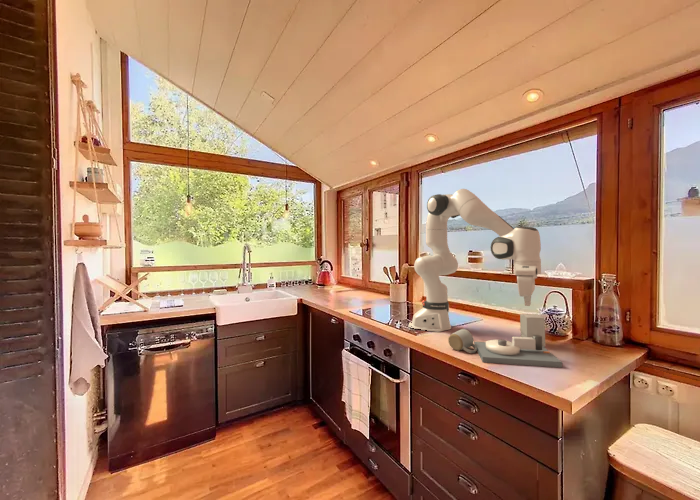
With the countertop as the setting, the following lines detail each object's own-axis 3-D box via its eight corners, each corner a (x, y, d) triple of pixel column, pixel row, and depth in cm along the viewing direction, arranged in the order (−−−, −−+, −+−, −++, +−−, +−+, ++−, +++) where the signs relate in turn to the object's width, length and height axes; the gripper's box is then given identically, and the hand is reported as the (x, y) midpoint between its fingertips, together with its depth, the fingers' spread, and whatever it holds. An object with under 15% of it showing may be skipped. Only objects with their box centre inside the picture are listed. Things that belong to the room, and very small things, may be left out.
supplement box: (545, 347, 122) (545, 317, 122) (526, 346, 123) (526, 317, 123) (538, 341, 129) (537, 313, 129) (520, 341, 131) (519, 313, 131)
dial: (489, 354, 110) (489, 338, 110) (482, 343, 122) (482, 329, 122) (549, 357, 106) (548, 341, 106) (535, 346, 117) (535, 331, 117)
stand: (482, 362, 108) (482, 356, 108) (474, 346, 126) (474, 340, 126) (562, 367, 102) (562, 361, 102) (541, 349, 119) (541, 344, 119)
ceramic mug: (446, 348, 123) (446, 330, 123) (458, 344, 128) (457, 327, 128) (469, 356, 115) (469, 337, 115) (480, 351, 120) (480, 333, 120)
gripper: (520, 266, 119) (521, 300, 119) (514, 270, 103) (514, 309, 103) (538, 267, 116) (539, 301, 116) (535, 271, 99) (535, 311, 99)
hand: (527, 305), depth 109 cm, fingers closed
